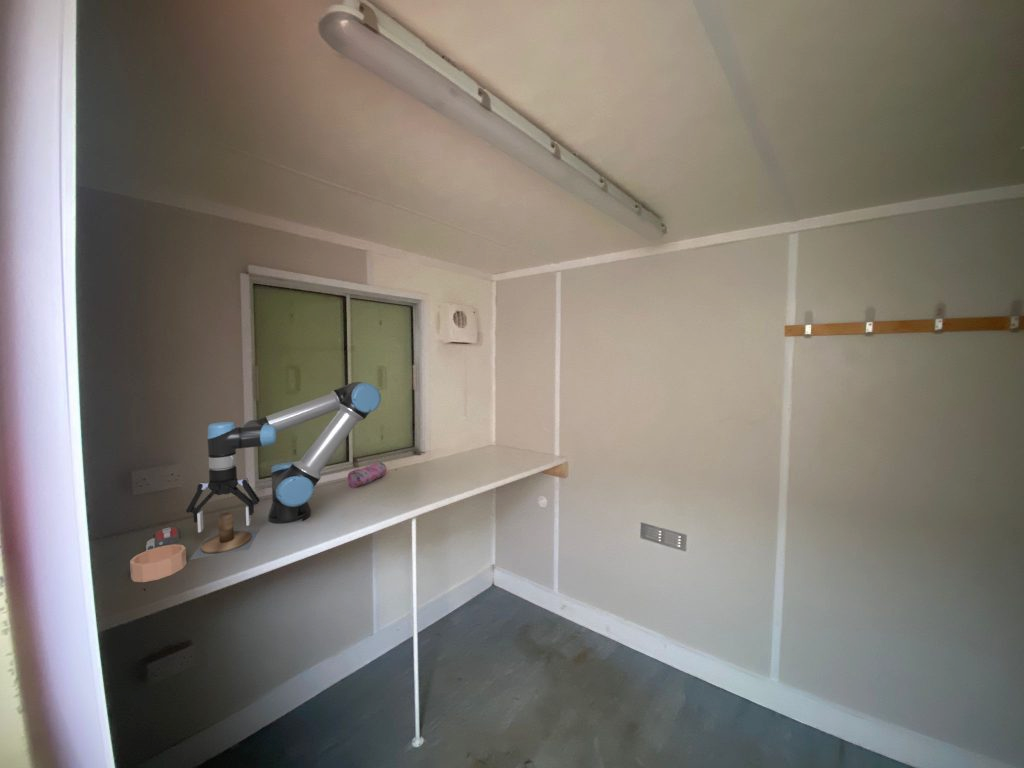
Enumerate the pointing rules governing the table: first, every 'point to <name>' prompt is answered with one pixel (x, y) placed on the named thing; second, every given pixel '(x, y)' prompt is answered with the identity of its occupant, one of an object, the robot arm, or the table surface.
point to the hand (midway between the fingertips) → (225, 527)
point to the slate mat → (245, 547)
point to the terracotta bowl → (157, 563)
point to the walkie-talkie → (163, 537)
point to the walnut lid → (225, 537)
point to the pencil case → (366, 474)
